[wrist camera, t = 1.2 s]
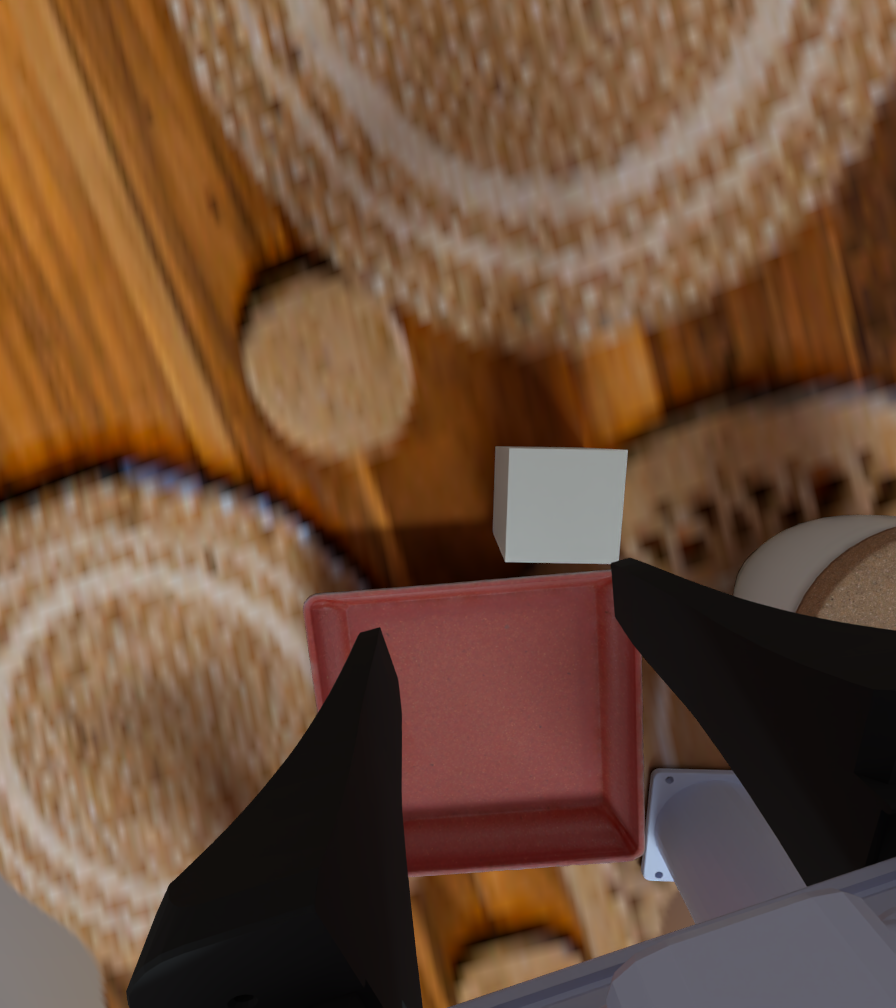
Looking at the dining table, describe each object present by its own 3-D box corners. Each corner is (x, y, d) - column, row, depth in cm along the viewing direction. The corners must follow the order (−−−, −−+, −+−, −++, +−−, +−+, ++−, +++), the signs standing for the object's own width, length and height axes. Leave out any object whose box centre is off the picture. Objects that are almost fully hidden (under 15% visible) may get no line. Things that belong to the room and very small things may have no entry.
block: (583, 447, 23) (627, 450, 17) (578, 533, 24) (618, 564, 18) (495, 446, 23) (509, 448, 17) (492, 532, 24) (505, 562, 18)
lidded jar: (734, 476, 23) (918, 500, 14) (909, 525, 24) (1203, 579, 14) (669, 645, 25) (796, 766, 16) (834, 689, 25) (1054, 833, 16)
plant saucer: (617, 551, 25) (643, 568, 21) (625, 813, 27) (648, 864, 24) (319, 575, 25) (298, 595, 22) (355, 831, 28) (342, 883, 24)
